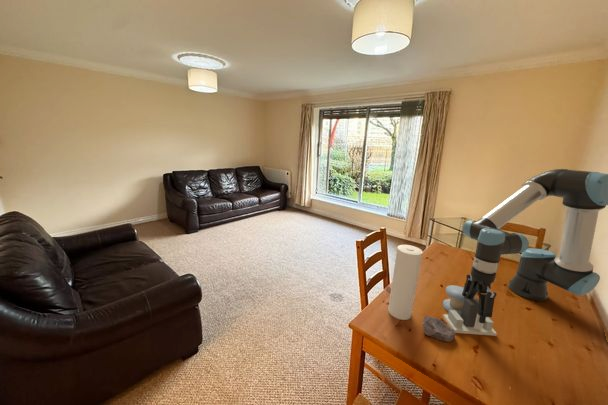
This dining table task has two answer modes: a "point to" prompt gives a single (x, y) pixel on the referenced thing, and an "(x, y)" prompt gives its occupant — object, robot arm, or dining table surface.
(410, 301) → the cylinder container
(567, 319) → the dining table surface
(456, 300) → the spool
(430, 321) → the rock
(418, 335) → the dining table surface
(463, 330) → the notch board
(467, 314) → the gray rectangular block
